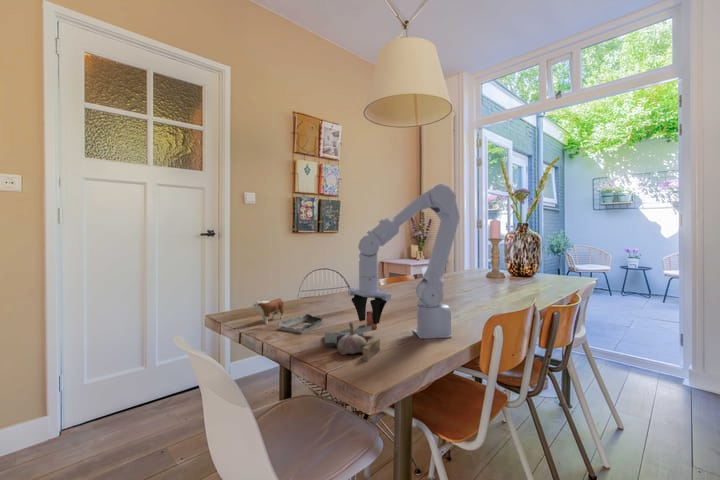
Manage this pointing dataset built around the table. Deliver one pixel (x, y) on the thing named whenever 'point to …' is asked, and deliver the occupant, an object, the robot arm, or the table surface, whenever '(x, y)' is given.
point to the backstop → (371, 349)
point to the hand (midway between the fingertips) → (369, 321)
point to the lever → (358, 330)
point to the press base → (330, 344)
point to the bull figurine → (269, 308)
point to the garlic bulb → (351, 342)
